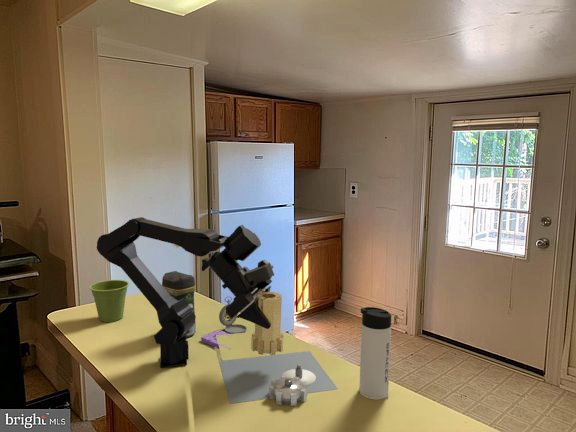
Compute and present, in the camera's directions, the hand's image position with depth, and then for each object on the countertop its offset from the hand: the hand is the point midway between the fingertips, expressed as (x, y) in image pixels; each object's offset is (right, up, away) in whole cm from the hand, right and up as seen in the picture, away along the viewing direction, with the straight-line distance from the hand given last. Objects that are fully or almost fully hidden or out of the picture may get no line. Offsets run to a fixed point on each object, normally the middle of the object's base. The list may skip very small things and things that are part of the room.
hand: (273, 322), depth 103 cm
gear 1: (-2, -6, +1) cm, 7 cm away
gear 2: (+3, -13, -10) cm, 17 cm away
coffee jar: (-29, -10, +26) cm, 40 cm away
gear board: (0, -13, 0) cm, 13 cm away
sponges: (-15, -11, +19) cm, 27 cm away
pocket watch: (-13, -10, +29) cm, 33 cm away
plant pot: (-54, -8, +37) cm, 66 cm away
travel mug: (+22, -15, -8) cm, 28 cm away
